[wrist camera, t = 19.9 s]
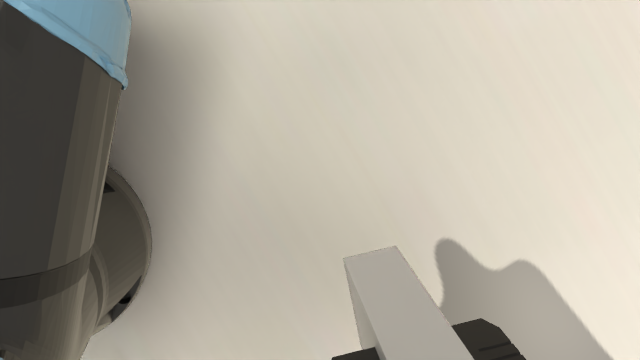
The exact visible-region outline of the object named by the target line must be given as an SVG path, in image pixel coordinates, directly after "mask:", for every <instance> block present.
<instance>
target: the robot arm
mask: <svg viewBox="0 0 640 360" xmlns="http://www.w3.org/2000/svg"><path fill="white" fill-rule="evenodd" d="M130 31H131V11H130V7H129V5H128V3H127V1H126V0H0V360H80V358H81V356H82V354H83V352H84V350H85V348H86V345H87V343H88V341H89V339H90V337H91V336H93V335H94V334H96V333H97V332H99V331H100V330H102V329H103V328H105V327H106V326H108V325H109V324H111V323H112V322H113V321H114V320H116V319H117V318H118V317H119V316H120V315H121V314H122V313H123V312H124V311H125V310H126V309H127V307H128V306H129V305H130V304H131V302H132V301H133V299H134V298H135V296H136V295H137V293H138V291H139V289H140V287H141V285H142V282H143V280H144V277H145V274H146V272H147V269H148V266H149V262H150V256H151V231H150V226H149V222H148V218H147V215H146V213H145V210H144V208H143V206H142V204H141V202H140V200H139V198H138V197H137V195H136V194H135V192H134V191H133V190H132V188H131V187H130V186H129V185H128V183H127V182H126V181H125V180H124V179H123V178H122V177H121V176H120V175H119V174H117V173H116V172H115V171H114V170H113V169H111V168H110V167H109V166H108V161H109V155H110V150H111V144H112V138H113V133H114V127H115V122H116V116H117V110H118V105H119V99H120V94H121V89H122V90H126V88H127V86H128V78H127V75H126V73H125V68H126V60H127V53H128V46H129V38H130ZM343 260H344V265H345V270H346V274H347V279H348V284H349V289H350V294H351V299H352V304H353V309H354V314H355V319H356V324H357V328H358V333H359V338H360V343H361V346H362V349H363V350H360V351H356V352H352V353H348V354H344V355H340V356H336V357H332V360H526V359H525V358H524V356H523V355H521V354H520V352H519V350H518V349H517V348H516V347H515V346H514V344H511V341H510V340H509V339H508V337H507V336H506V335H505V334H504V333H503V331H502V330H501V329H500V328H499V327H497V326H495V325H493V324H491V323H489V322H487V321H485V320H483V319H481V318H480V319H477V320H473V321H469V322H465V323H461V324H457V325H453V326H451V325H450V324H449V322H448V321H447V319H446V318H445V316H444V315H443V314H442V312H441V311H440V309H439V308H438V306H437V305H436V303H435V302H434V300H433V299H432V298H431V296H430V295H429V293H428V292H427V290H426V289H425V287H424V286H423V284H422V283H421V282H420V280H419V279H418V277H417V276H416V274H415V273H414V271H413V270H412V268H411V267H410V266H409V264H408V263H407V261H406V260H405V258H404V257H403V255H402V254H401V252H400V251H399V250H398V248H397V247H396V246H393V247H388V248H384V249H380V250H376V251H372V252H368V253H363V254H359V255H355V256H351V257H347V258H343Z"/></svg>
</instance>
